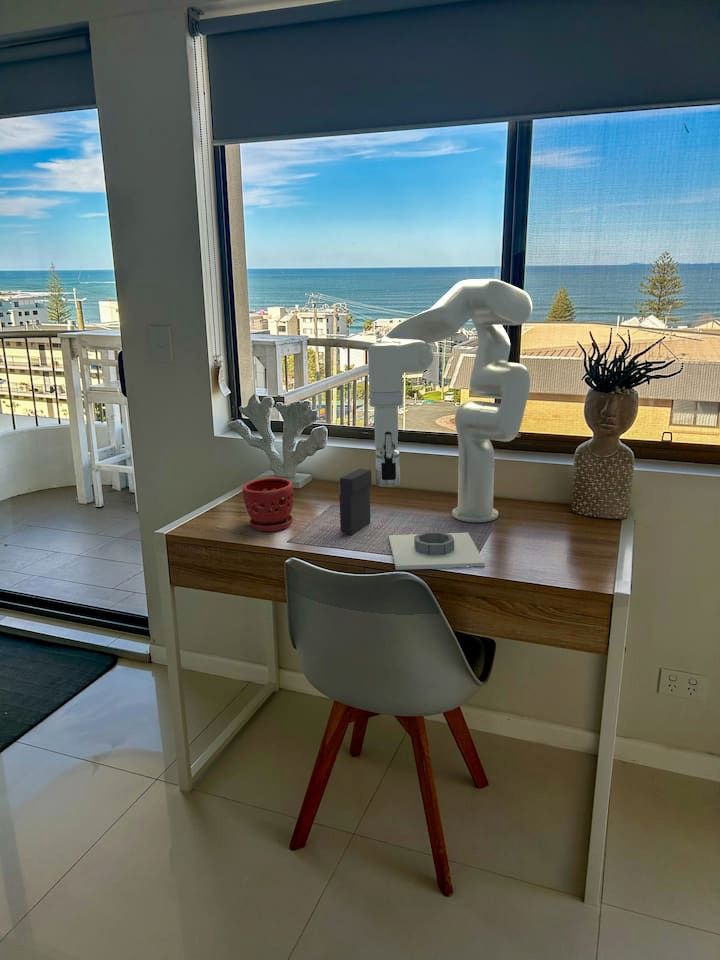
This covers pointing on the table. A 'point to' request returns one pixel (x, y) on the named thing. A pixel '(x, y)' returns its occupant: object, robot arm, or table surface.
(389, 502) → the table surface
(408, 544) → the holder
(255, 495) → the plant pot
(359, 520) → the upright black box
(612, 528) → the table surface
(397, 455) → the piston
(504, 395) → the robot arm
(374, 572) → the table surface
